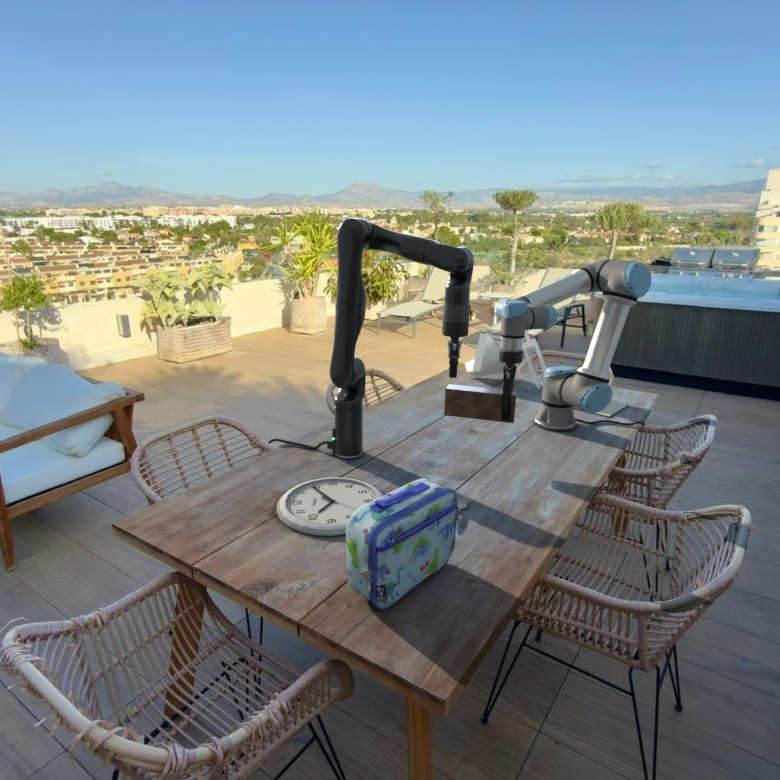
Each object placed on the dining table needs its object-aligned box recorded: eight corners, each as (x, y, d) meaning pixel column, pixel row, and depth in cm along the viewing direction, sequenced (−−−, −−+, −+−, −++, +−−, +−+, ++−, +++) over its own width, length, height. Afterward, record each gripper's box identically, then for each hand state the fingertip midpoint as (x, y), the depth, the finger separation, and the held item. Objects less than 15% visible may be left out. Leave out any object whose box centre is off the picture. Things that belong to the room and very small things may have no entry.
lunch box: (375, 622, 100) (376, 527, 94) (339, 595, 108) (338, 505, 101) (459, 565, 118) (465, 481, 112) (424, 545, 125) (427, 465, 119)
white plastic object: (486, 418, 266) (465, 396, 241) (467, 346, 288) (447, 318, 263) (557, 395, 254) (543, 368, 229) (531, 321, 276) (517, 290, 251)
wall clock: (392, 527, 129) (268, 531, 127) (391, 533, 130) (269, 537, 127) (383, 473, 158) (282, 475, 155) (383, 478, 158) (282, 480, 156)
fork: (445, 528, 132) (446, 521, 132) (459, 499, 147) (460, 493, 146) (455, 530, 132) (456, 523, 131) (468, 501, 146) (469, 494, 145)
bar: (514, 417, 177) (517, 390, 174) (513, 423, 172) (516, 395, 169) (447, 410, 183) (448, 384, 180) (444, 415, 178) (445, 388, 175)
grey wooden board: (608, 416, 214) (573, 407, 224) (608, 416, 214) (573, 408, 224) (628, 404, 229) (594, 396, 238) (628, 405, 229) (594, 397, 238)
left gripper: (443, 314, 157) (440, 366, 161) (442, 322, 143) (439, 379, 148) (468, 315, 156) (465, 368, 161) (469, 323, 142) (466, 380, 147)
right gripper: (502, 342, 177) (497, 407, 184) (496, 355, 160) (491, 425, 167) (525, 344, 175) (519, 409, 182) (521, 357, 158) (515, 428, 165)
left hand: (452, 373), depth 154 cm, fingers open, 8 cm apart
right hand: (506, 417), depth 175 cm, fingers closed on bar, 5 cm apart
